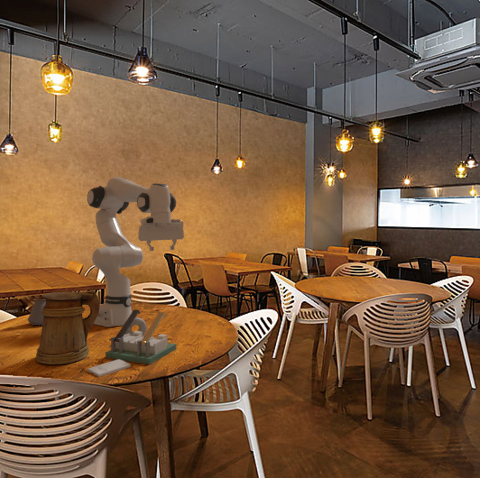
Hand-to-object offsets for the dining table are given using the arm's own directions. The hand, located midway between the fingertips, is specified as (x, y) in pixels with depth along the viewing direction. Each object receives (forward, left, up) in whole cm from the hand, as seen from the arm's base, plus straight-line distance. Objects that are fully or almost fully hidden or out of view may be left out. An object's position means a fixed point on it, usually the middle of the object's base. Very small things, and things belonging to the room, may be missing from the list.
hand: (162, 250), depth 183 cm
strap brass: (+11, -24, -29) cm, 39 cm away
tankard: (-19, -36, -39) cm, 57 cm away
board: (+5, -23, -39) cm, 45 cm away
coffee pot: (-65, -1, -39) cm, 76 cm away
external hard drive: (+4, -41, -40) cm, 57 cm away
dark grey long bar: (-1, -24, -29) cm, 37 cm away
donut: (-8, -9, -39) cm, 41 cm away
